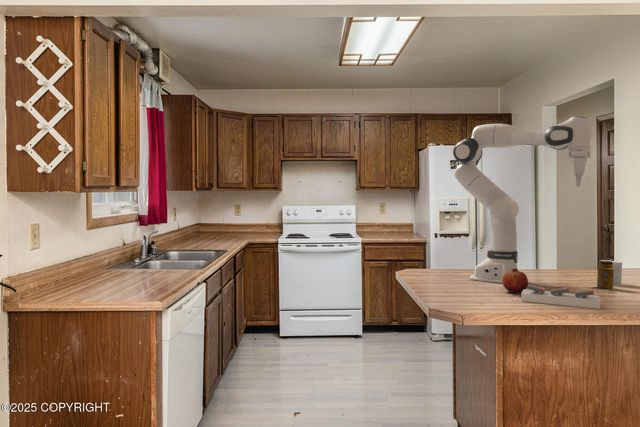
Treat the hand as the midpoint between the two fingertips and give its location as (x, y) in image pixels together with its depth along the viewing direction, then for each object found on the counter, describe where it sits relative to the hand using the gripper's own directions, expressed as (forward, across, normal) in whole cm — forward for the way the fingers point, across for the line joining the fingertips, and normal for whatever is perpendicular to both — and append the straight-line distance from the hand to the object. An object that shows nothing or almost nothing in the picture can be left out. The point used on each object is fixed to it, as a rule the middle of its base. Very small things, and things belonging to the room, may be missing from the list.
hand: (578, 186), depth 208 cm
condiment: (+45, -4, +11) cm, 46 cm away
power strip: (+44, +36, -6) cm, 58 cm away
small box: (+45, -18, +14) cm, 50 cm away
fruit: (+45, +24, -22) cm, 56 cm away
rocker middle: (+40, +37, -6) cm, 55 cm away
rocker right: (+40, +37, +2) cm, 55 cm away
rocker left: (+40, +37, -14) cm, 56 cm away
